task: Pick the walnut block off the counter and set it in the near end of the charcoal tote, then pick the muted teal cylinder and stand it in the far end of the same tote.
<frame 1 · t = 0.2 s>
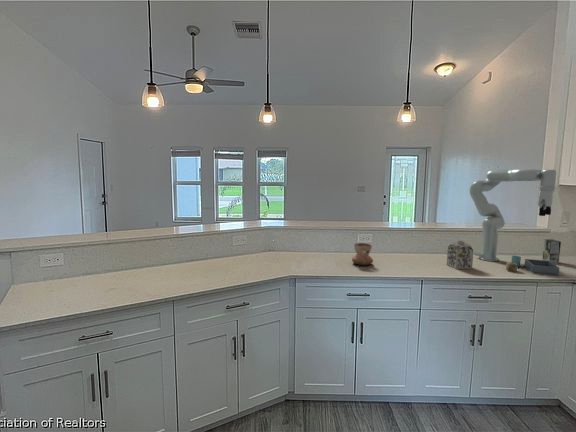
hand: (544, 215, 216), 37 cm above the worktop, tool pointing down, fingers open, 9 cm apart
decorative jar: (459, 267, 229), on the worktop
ceramic jug: (362, 264, 236), on the worktop
teal cylinder: (515, 266, 229), on the worktop
tote: (540, 270, 220), on the worktop
walnut cube: (511, 270, 219), on the worktop
coffee box: (550, 262, 241), on the worktop
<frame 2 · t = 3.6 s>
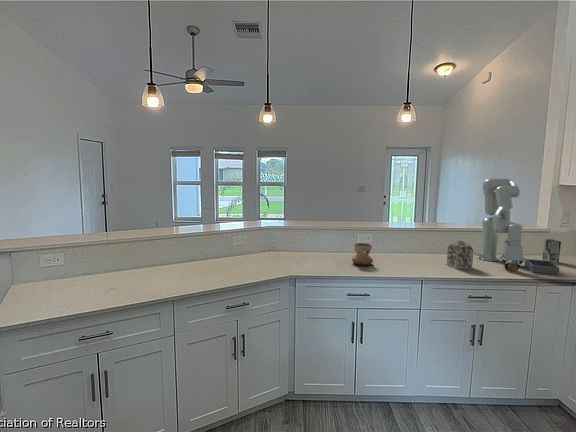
hand: (511, 269, 219), 1 cm above the worktop, tool pointing down, fingers closed on walnut cube, 4 cm apart
walnut cube: (511, 270, 219), on the worktop, touching gripper
everything else where it was.
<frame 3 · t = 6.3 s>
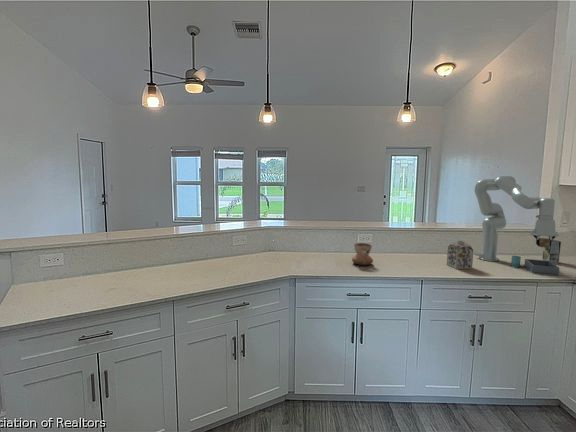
hand: (543, 245, 214), 18 cm above the worktop, tool pointing down, fingers closed on walnut cube, 4 cm apart
walnut cube: (543, 246, 214), point 17 cm above the worktop, touching gripper
everything else where it was.
when the fingers open (4 cm above the worktop, at t = 9.3 s): walnut cube drops 3 cm, resting on tote.
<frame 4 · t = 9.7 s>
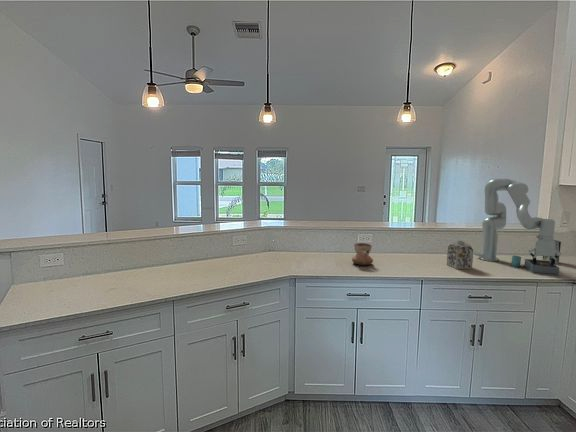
hand: (543, 264, 215), 5 cm above the worktop, tool pointing down, fingers open, 9 cm apart
walnut cube: (542, 270, 216), point 1 cm above the worktop, touching tote
everything else where it was.
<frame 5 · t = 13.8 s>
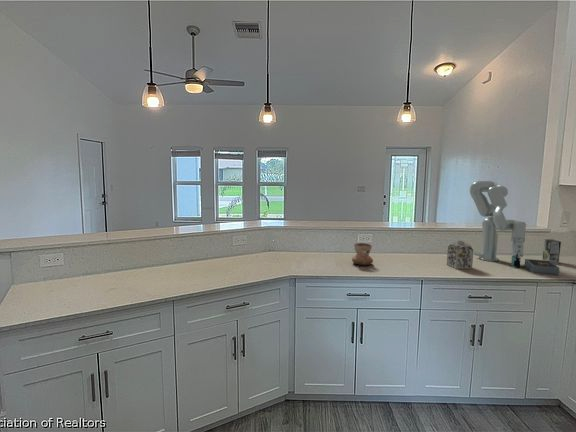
hand: (515, 265, 229), 1 cm above the worktop, tool pointing down, fingers closed on teal cylinder, 4 cm apart
teal cylinder: (515, 266, 229), on the worktop, touching gripper
everything else where it was.
when the fingers open (4 cm above the worktop, at t = 19.2 s): teal cylinder drops 2 cm, resting on tote.
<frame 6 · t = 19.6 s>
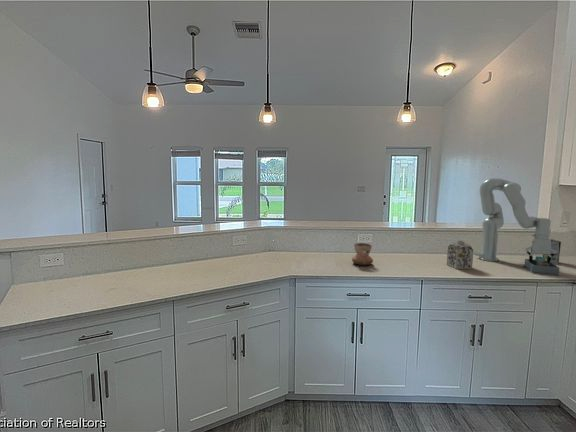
hand: (539, 262, 223), 5 cm above the worktop, tool pointing down, fingers open, 9 cm apart
teal cylinder: (539, 267, 223), point 1 cm above the worktop, touching tote
everything else where it was.
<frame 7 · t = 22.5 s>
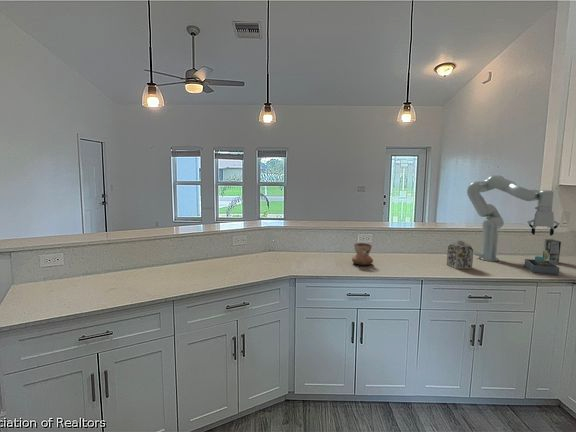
hand: (542, 234, 221), 23 cm above the worktop, tool pointing down, fingers open, 9 cm apart
nothing on the worktop moved.
at the end: walnut cube inside the target area on the tote (4.1 cm from its centre), point 1.0 cm above the tote's base; teal cylinder inside the target area on the tote (4.0 cm from its centre), point 1.1 cm above the tote's base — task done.
